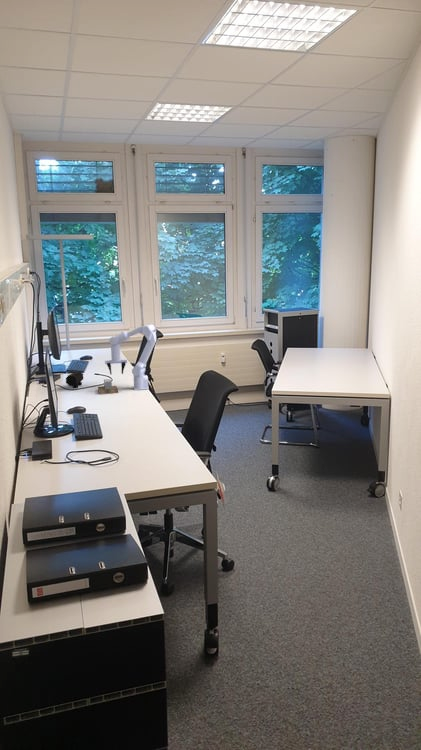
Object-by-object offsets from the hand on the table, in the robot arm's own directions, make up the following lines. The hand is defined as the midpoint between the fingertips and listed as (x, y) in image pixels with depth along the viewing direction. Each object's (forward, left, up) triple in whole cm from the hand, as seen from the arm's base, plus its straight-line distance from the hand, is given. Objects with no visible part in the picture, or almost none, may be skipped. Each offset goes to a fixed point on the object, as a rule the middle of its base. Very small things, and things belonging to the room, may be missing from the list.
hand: (116, 373), depth 368 cm
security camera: (+27, -8, -10) cm, 30 cm away
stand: (+7, +10, -9) cm, 15 cm away
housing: (+7, +10, -7) cm, 14 cm away
